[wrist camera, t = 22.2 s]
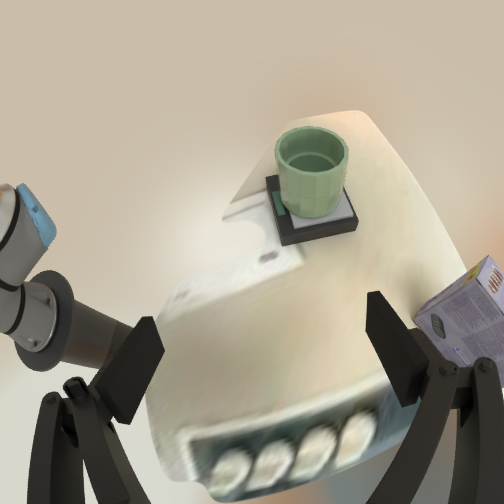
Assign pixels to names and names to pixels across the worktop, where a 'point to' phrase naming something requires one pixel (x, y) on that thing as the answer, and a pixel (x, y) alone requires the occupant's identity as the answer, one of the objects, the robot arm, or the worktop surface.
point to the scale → (309, 219)
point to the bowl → (311, 170)
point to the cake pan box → (468, 317)
